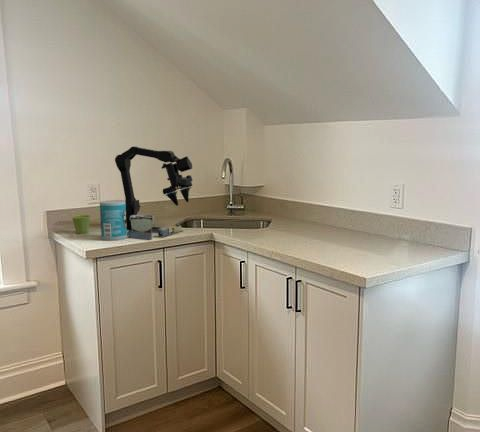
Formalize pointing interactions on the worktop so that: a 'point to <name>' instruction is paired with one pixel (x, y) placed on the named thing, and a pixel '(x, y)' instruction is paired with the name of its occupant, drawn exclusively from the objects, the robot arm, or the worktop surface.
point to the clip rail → (165, 232)
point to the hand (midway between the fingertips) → (182, 203)
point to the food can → (113, 220)
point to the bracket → (144, 235)
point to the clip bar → (176, 229)
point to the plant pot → (81, 223)
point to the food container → (142, 223)
